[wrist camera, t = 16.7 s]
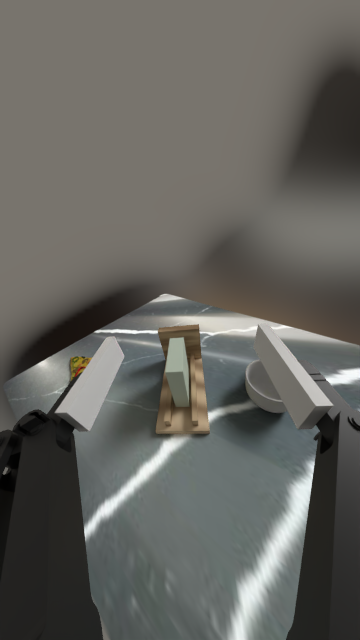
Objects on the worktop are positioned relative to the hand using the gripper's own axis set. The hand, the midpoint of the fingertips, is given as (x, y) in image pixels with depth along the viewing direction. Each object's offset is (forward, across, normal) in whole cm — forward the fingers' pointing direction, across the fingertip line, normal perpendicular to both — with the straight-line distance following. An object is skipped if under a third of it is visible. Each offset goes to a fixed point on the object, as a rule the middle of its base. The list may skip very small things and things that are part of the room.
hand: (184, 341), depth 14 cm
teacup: (+12, +18, -30) cm, 37 cm away
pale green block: (+12, -4, -28) cm, 31 cm away
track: (+13, -4, -30) cm, 33 cm away
